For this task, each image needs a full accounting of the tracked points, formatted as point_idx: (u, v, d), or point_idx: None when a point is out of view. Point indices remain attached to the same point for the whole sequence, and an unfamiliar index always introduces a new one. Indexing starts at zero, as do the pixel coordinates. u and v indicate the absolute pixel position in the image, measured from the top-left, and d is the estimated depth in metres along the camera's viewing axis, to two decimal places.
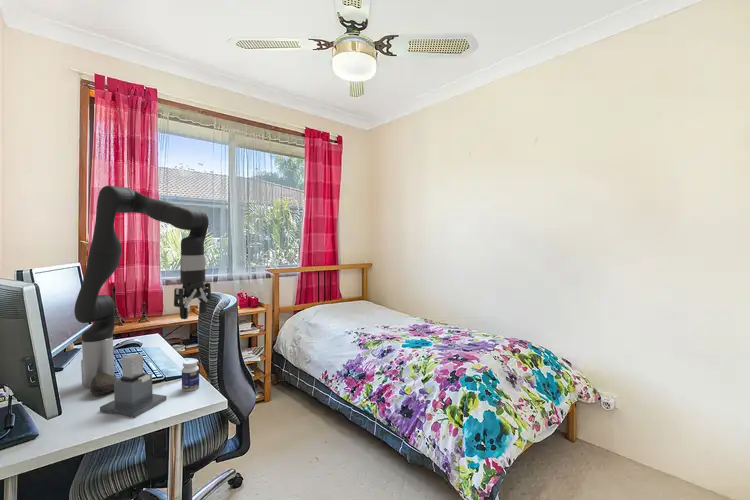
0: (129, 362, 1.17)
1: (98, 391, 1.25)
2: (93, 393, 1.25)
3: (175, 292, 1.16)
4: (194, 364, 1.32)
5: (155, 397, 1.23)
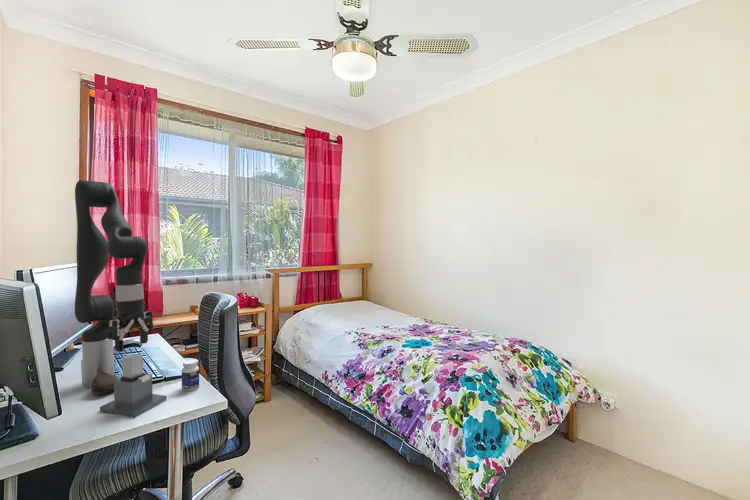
0: (129, 362, 1.17)
1: (99, 391, 1.25)
2: (94, 393, 1.25)
3: (108, 324, 1.12)
4: (194, 364, 1.32)
5: (155, 397, 1.23)
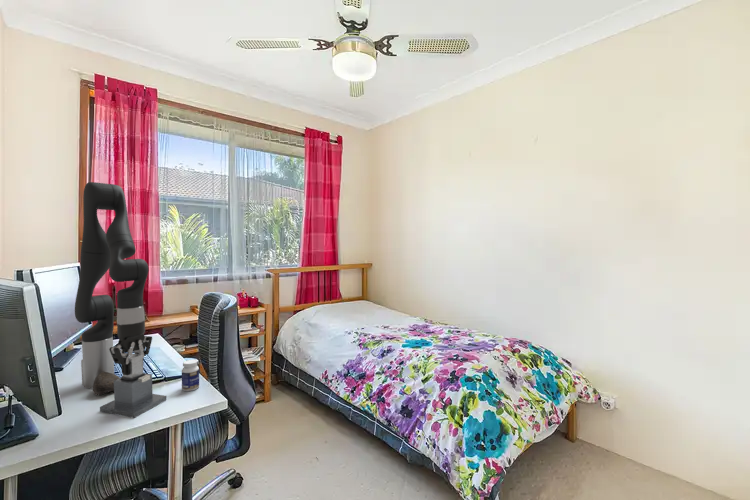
0: (129, 362, 1.17)
1: (101, 390, 1.26)
2: (96, 392, 1.26)
3: (111, 352, 1.13)
4: (194, 364, 1.32)
5: (155, 397, 1.23)
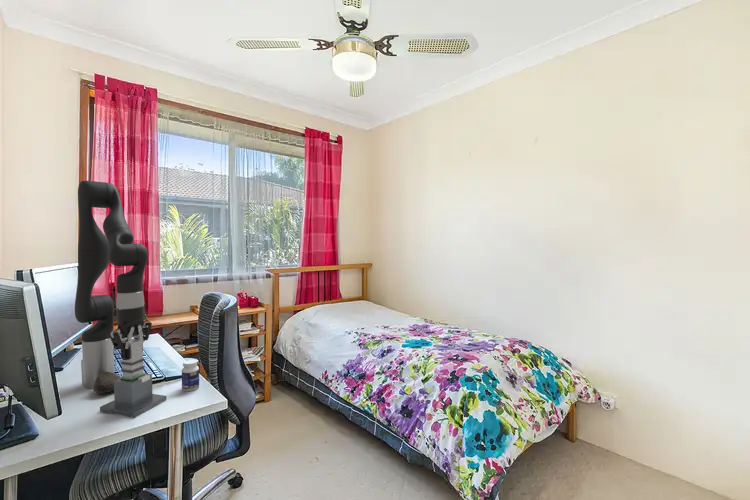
0: (129, 347, 1.17)
1: (103, 390, 1.26)
2: (98, 392, 1.26)
3: (110, 336, 1.12)
4: (194, 364, 1.32)
5: (155, 397, 1.23)
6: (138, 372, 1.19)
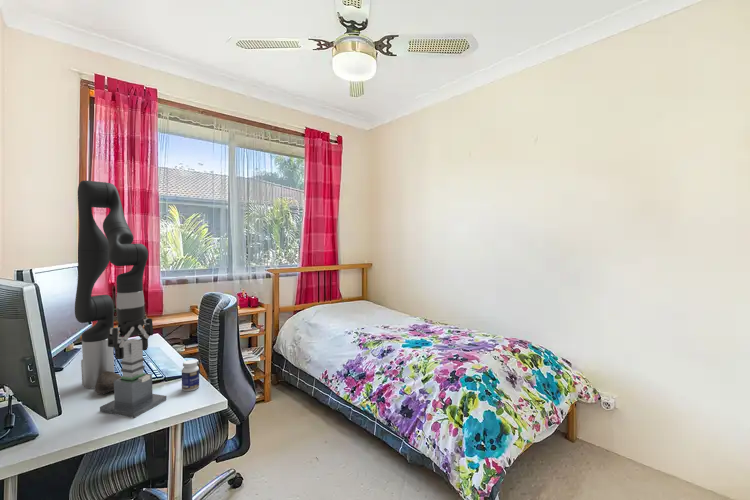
0: (129, 346, 1.17)
1: (104, 389, 1.26)
2: (99, 391, 1.26)
3: (109, 332, 1.12)
4: (194, 364, 1.32)
5: (155, 397, 1.23)
6: (138, 372, 1.19)
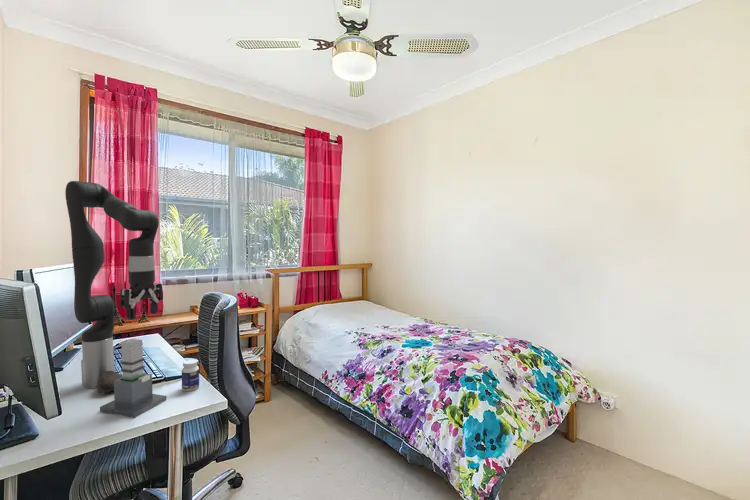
0: (129, 346, 1.17)
1: (106, 389, 1.27)
2: (101, 391, 1.27)
3: (121, 293, 1.17)
4: (194, 364, 1.32)
5: (155, 397, 1.23)
6: (138, 372, 1.19)
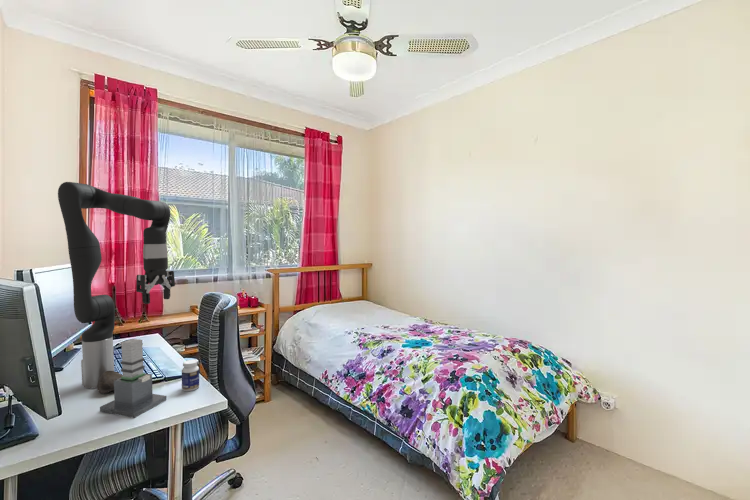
0: (129, 346, 1.17)
1: (107, 388, 1.27)
2: (101, 391, 1.27)
3: (137, 278, 1.24)
4: (194, 364, 1.32)
5: (155, 397, 1.23)
6: (138, 372, 1.19)
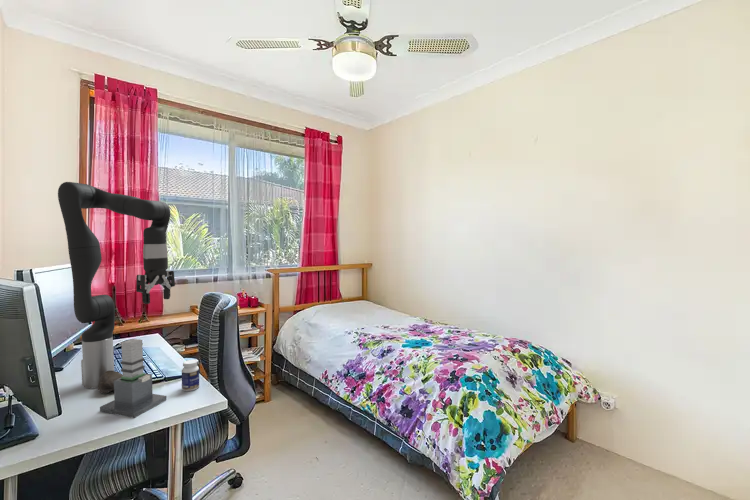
0: (129, 346, 1.17)
1: (107, 388, 1.27)
2: (102, 390, 1.27)
3: (137, 278, 1.24)
4: (194, 364, 1.32)
5: (155, 397, 1.23)
6: (138, 372, 1.19)
